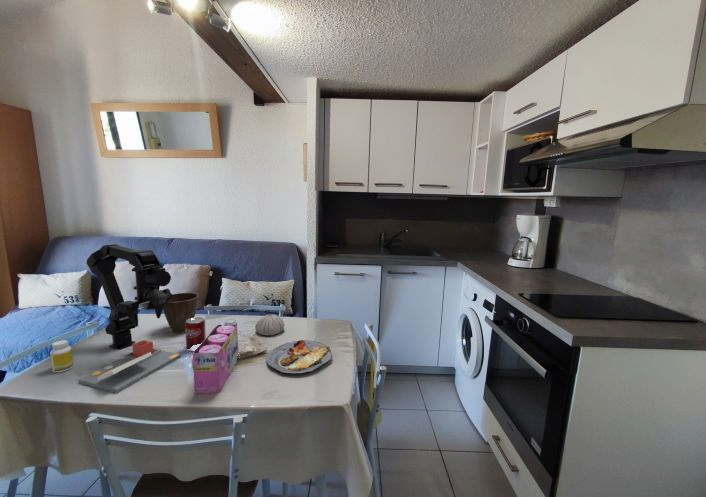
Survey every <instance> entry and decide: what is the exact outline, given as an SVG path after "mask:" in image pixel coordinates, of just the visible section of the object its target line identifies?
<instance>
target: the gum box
mask: <svg viewBox="0 0 706 497" xmlns="http://www.w3.org/2000/svg"><path fill="white" fill-rule="evenodd" d="M238 335H239V334H238V324H237V325H234V327H233V326H224V325H222V324H217V325H216V326H215V327H214V328H213V329H212V331H211V332H210V333H209V334H208V335H207V336H206V339H205V340H204V341H203V342H202V344H201V345H200V346H199V347H198V348H197V349H196V350H195V351H194V352H192V365H193V368H192V369H193V386H194V391H193V392H194V394H211V393H213V394H214V393H220V392H221V390H222V388H223V386H224V385H225V383H226V381H227V380H228V378H229V376H230V374H231V372H232V371H233V369H234V367H235V365H236V364H237V361H238V360H237V354H238V351H239V339H238V338H239V336H238Z"/></svg>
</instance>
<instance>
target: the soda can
mask: <svg viewBox="0 0 706 497" xmlns="http://www.w3.org/2000/svg"><path fill="white" fill-rule="evenodd" d="M206 331H207V330H206V318H204V317H201V316H197V317H196V316H195V317H194V318H190V319H188V320H186V322H185V332H184V333H185V349H186V348H187V349H190V348H191V347H192V346H193V345H197V344H201V343H202V342H203V341H204V340H205V339H206V338H207V335H206ZM187 349H186V350H187Z"/></svg>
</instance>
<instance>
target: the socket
mask: <svg viewBox="0 0 706 497" xmlns="http://www.w3.org/2000/svg"><path fill="white" fill-rule="evenodd" d="M161 350H162V349H159V348H156V347H155V348H154V347H153V353H151V354H152V355H151V356H149V357H147V358H145V359H143V360H141V361H139V362H141V363H142V362H144V361H146V360H148V359H150V358H152V357H153V356H155V355H157V354H159V353H161ZM124 358H125V359H127V360H133V359H135V358H138V357H134V356H133V351H132V352H129V353H128V354H126V355H124Z"/></svg>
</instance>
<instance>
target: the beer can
mask: <svg viewBox="0 0 706 497" xmlns="http://www.w3.org/2000/svg"><path fill="white" fill-rule="evenodd" d="M234 325H237V326H238V322H237V320H236V319H233V318H231V319H227V320H225V323H224V325H223V326H233V327H234Z"/></svg>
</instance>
